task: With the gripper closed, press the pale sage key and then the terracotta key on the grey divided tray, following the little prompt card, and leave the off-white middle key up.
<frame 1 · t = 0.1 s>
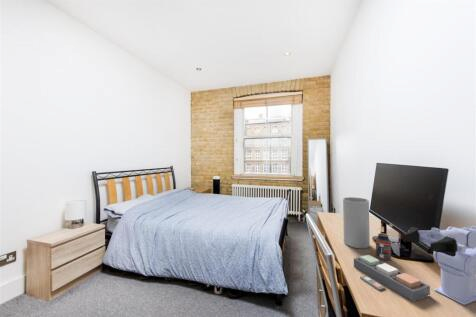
hand: (417, 242, 65), 22 cm above the table, tool horizontal, fingers open, 7 cm apart
terracotta key: (407, 282, 74), point 3 cm above the table, slide at 0.0 cm
sage key: (369, 261, 88), point 3 cm above the table, slide at 0.0 cm
cylinder vase: (356, 244, 113), on the table
grey divided tray: (387, 279, 81), on the table
prompt card: (372, 283, 78), on the table
supplement bottle: (383, 258, 97), on the table
white key: (387, 271, 81), point 3 cm above the table, slide at 0.0 cm
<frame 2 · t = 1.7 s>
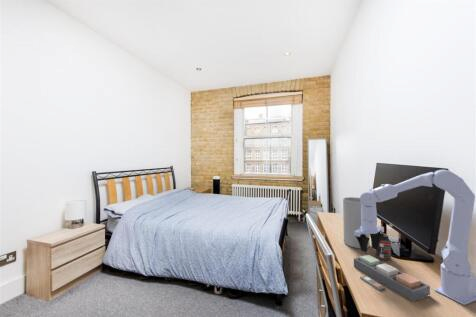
hand: (369, 250, 88), 8 cm above the table, tool pointing down, fingers open, 6 cm apart
nothing on the table moved.
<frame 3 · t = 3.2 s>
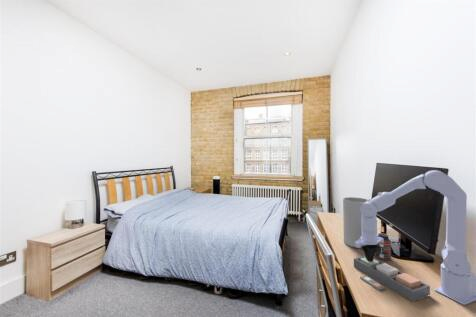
hand: (369, 260, 88), 4 cm above the table, tool pointing down, fingers closed, pressing on sage key
sage key: (369, 263, 88), point 2 cm above the table, slide at 0.8 cm, touching gripper, grey divided tray
everything else where it was.
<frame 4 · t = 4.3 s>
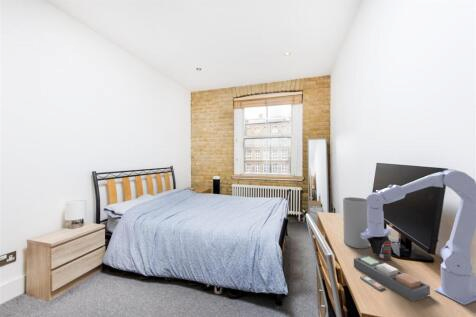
hand: (376, 253, 85), 8 cm above the table, tool pointing down, fingers closed
sage key: (369, 263, 88), point 2 cm above the table, slide at 0.8 cm, touching grey divided tray
everything else where it was.
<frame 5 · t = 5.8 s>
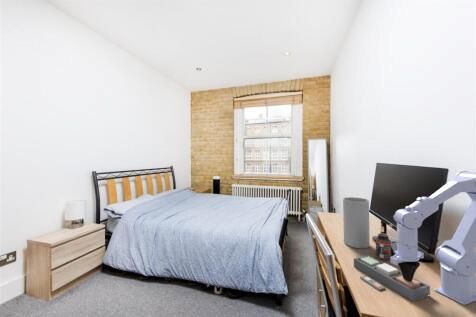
hand: (407, 280, 74), 4 cm above the table, tool pointing down, fingers closed, pressing on terracotta key
terracotta key: (407, 284, 74), point 3 cm above the table, slide at 0.8 cm, touching gripper
everything else where it was.
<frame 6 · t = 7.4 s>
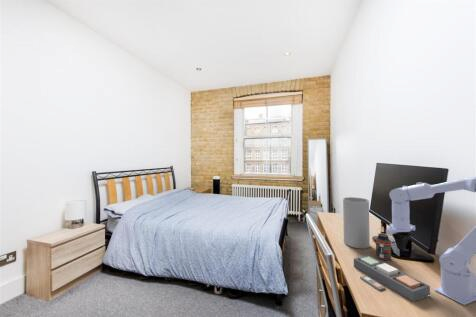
hand: (401, 249, 84), 10 cm above the table, tool pointing down, fingers closed
terracotta key: (407, 284, 74), point 2 cm above the table, slide at 0.8 cm, touching grey divided tray
everything else where it was.
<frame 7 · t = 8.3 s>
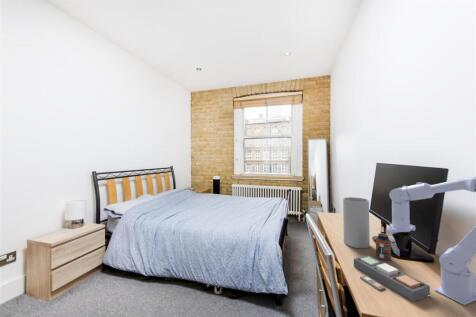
hand: (401, 249, 84), 10 cm above the table, tool pointing down, fingers closed
nothing on the table moved.
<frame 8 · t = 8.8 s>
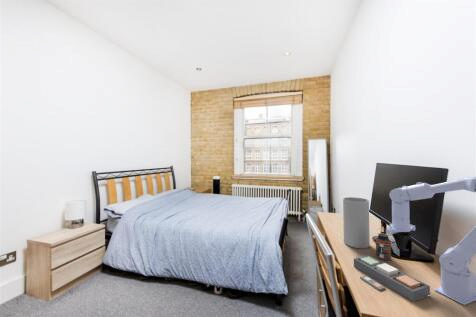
hand: (401, 249, 84), 10 cm above the table, tool pointing down, fingers closed
nothing on the table moved.
at the end: sage key slide at 0.8 cm; terracotta key slide at 0.8 cm; white key slide at 0.0 cm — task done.
